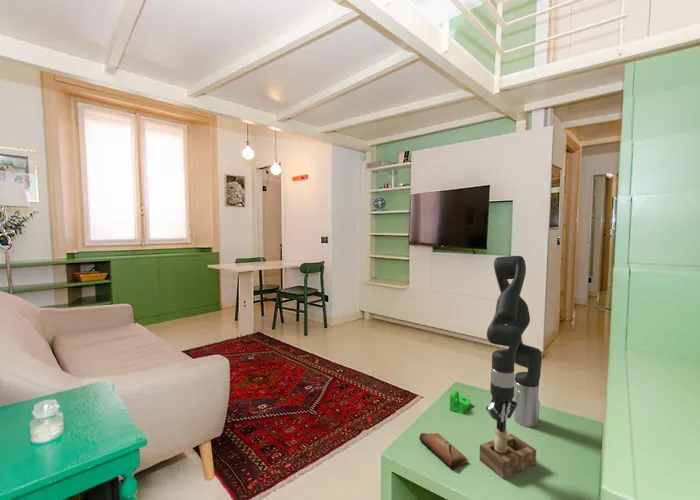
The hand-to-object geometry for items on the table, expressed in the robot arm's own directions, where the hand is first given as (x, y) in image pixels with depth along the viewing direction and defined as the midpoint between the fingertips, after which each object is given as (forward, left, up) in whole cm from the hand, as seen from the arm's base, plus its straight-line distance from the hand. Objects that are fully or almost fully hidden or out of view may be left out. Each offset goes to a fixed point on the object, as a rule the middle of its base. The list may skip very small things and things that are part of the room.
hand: (501, 430), depth 115 cm
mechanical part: (-16, -36, -14) cm, 42 cm away
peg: (0, 0, -12) cm, 12 cm away
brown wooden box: (-4, 0, -13) cm, 13 cm away
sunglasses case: (+12, -14, -14) cm, 23 cm away
